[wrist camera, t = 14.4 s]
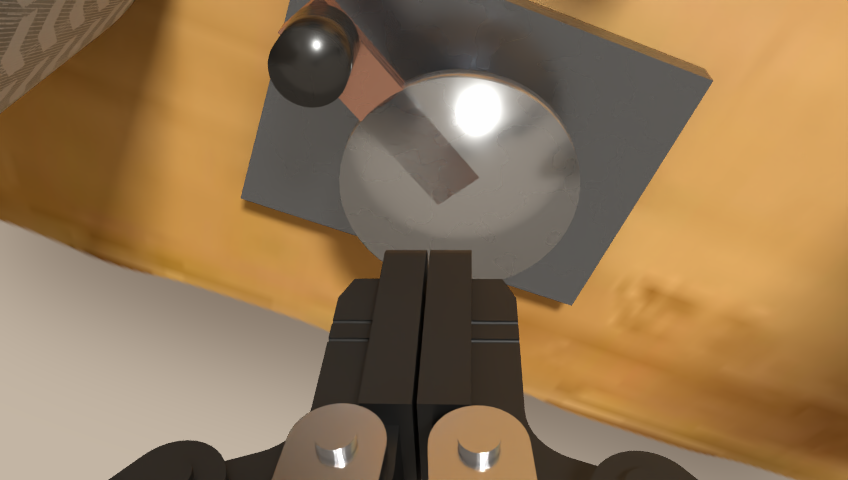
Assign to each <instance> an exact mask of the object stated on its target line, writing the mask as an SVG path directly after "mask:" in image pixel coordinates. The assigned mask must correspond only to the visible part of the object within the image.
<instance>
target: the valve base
mask: <svg viewBox="0 0 848 480" xmlns="http://www.w3.org/2000/svg"><path fill="white" fill-rule="evenodd" d="M309 1H310V0H290V2H289V6H288V10H287V14H286V18H285V22H286V21H288V20H289V19H290V18H291V17H292V16H293V15H294V14H295V13H296V12H297V11H299V10H300V9H301V8H302V7H303V6H304V5H306V4H307V3H308V2H309ZM335 1H336V2H337V3H338V4H339V5H340V6H341V8H342V9H343V10H344V11H345V12H346V13H347V15H348V16H349V17H350V18H351V19H352V20H353V21H354V23H355V24H356V25H357V26H358V27H359V28H360V30H361V31H362V32H363V33H364V34H365V35H366V36H367V38H368V39H369V40H370V41H371V42H372V43H373V45H374V46H375V47H376V48H377V49H378V50H379V52H380V53H381V54H382V55H383V56H384V57H385V58H386V60H387V61H388V62H389V63H390V64H391V65H392V67H393V68H394V69H395V70H396V71H397V72H398V74H399V75H400V76H401V77H402V78H403V79H404V80H407V79H409V78H412V77H415V76H418V75H421V74H424V73H429V72H434V71H438V70H447V69H474V70H480V71H486V72H491V73H495V74H498V75H501V76H504V77H507V78H510V79H512V80H514V81H516V82H518V83H520V84H522V85H524V86H526V87H527V88H529V89H530V90H532V91H533V92H535V93H536V94H538V95H539V96H540V97H541V98H542V99H543V100H545V101H546V102H547V103H548V104H549V105H550V106H551V107H552V109H553V110H554V111H555V112H556V113H557V114H558V116H559V117H560V119H561V120H562V122H563V123H564V125H565V126H566V128H567V130H568V132H569V135H570V137H571V139H572V142H573V145H574V149H575V152H576V156H577V160H578V164H579V172H580V194H579V200H578V205H577V208H576V211H575V214H574V217H573V219H572V221H571V223H570V225H569V227H568V229H567V231H566V232H565V234H564V235H563V237H562V238H561V240H560V241H559V242H558V243H557V244H556V245H555V247H554V248H553V249H552V250H551V251H550V252H549V253H548V254H547V255H545V256H544V257H543V258H542V259H541V260H539V261H538V262H537V263H535V264H534V265H532V266H531V267H529V268H527V269H525V270H524V271H522V272H520V273H518V274H516V275H513V276H511V277H508V278H505V279H503V281H504V282H505V283H506V285H510V286H513V287H516V288H519V289H522V290H525V291H528V292H531V293H534V294H537V295H540V296H544V297H547V298H550V299H553V300H556V301H559V302H562V303H565V304H568V305H571V306H572V304H573V303H574V301H575V300H576V298H577V296H578V295H579V293H580V292H581V290H582V288H583V287H584V285H585V284H586V282H587V280H588V279H589V277H590V276H591V274H592V273H593V271H594V269H595V268H596V266H597V265H598V263H599V261H600V260H601V258H602V257H603V255H604V253H605V252H606V250H607V249H608V247H609V246H610V244H611V242H612V241H613V239H614V238H615V236H616V234H617V233H618V231H619V230H620V228H621V226H622V225H623V223H624V222H625V220H626V219H627V217H628V215H629V214H630V212H631V211H632V209H633V207H634V206H635V204H636V203H637V201H638V199H639V198H640V196H641V195H642V193H643V192H644V190H645V188H646V187H647V185H648V184H649V182H650V180H651V179H652V177H653V176H654V174H655V172H656V171H657V169H658V168H659V166H660V164H661V163H662V161H663V160H664V158H665V157H666V155H667V153H668V152H669V150H670V149H671V147H672V145H673V144H674V142H675V141H676V139H677V137H678V136H679V134H680V133H681V131H682V130H683V128H684V126H685V125H686V123H687V122H688V120H689V118H690V117H691V115H692V114H693V112H694V110H695V109H696V107H697V106H698V104H699V103H700V101H701V99H702V98H703V96H704V95H705V93H706V91H707V90H708V88H709V87H710V85H711V83H712V82H713V80H712V78H711V77H710V76H709V74H708V73H707V71H706V70H705V69H703V68H701V67H698V66H696V65H693V64H691V63H688V62H685V61H683V60H680V59H678V58H675V57H673V56H670V55H667V54H665V53H662V52H660V51H657V50H655V49H652V48H649V47H647V46H644V45H642V44H639V43H637V42H634V41H631V40H629V39H626V38H624V37H621V36H619V35H616V34H613V33H611V32H608V31H606V30H603V29H601V28H598V27H595V26H593V25H590V24H588V23H585V22H583V21H580V20H577V19H575V18H572V17H570V16H567V15H565V14H562V13H559V12H557V11H554V10H552V9H549V8H547V7H544V6H541V5H539V4H536V3H534V2H531V1H529V0H335ZM285 22H284V23H285ZM358 120H359V119H358V118H357V117H356V116H355V115H354V114H353V113H352V112H351V111H350V110H349V108H348V107H347V106H346V105H345V104H344V103H343V102H342V101H341V100H340V99H339V98H337V99H336V100H335V101H333V102H332V103H330V104H328V105H325V106H322V107H315V108H310V107H303V106H299V105H297V104H294V103H292V102H290V101H289V100H287V99H286V98H285V97H283V96H282V95H281V94H280V93H279V92H278V90H277V89H276V88H275V86H274V85H273V83H272V81H271V78H270V82H269V87H268V91H267V95H266V99H265V103H264V107H263V111H262V115H261V119H260V123H259V127H258V131H257V135H256V139H255V143H254V147H253V151H252V155H251V159H250V163H249V167H248V171H247V175H246V179H245V183H244V187H243V191H242V195H241V199H244V200H247V201H250V202H253V203H257V204H260V205H263V206H266V207H269V208H272V209H275V210H278V211H281V212H284V213H287V214H290V215H294V216H297V217H300V218H303V219H306V220H309V221H312V222H315V223H318V224H321V225H324V226H328V227H331V228H334V229H337V230H340V231H343V232H346V233H349V234H352V235H355V236H357V235H356V233H355V232H354V231H353V229H352V227H351V225H350V223H349V221H348V219H347V217H346V214H345V211H344V208H343V206H342V201H341V196H340V185H339V176H340V167H341V162H342V158H343V154H344V151H345V148H346V144H347V141H348V139H349V137H350V134H351V132H352V130H353V128H354V126H355V124H356V123H357V121H358Z"/></svg>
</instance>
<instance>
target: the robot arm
mask: <svg viewBox="0 0 848 480" xmlns="http://www.w3.org/2000/svg"><path fill="white" fill-rule="evenodd" d="M421 479H422V480H697V479H696V478H695V477H694V476H692V475H691V474H690V473H689V472H687V471H686V470H685V469H684V468H682V467H681V466H680V465H678V464H677V463H675V462H673V461H671V460H670V459H668V458H666V457H663V456H660V455H658V454H654V453H650V452H644V451H627V452H621V453H618V454H615V455H612V456H610V457H609V458H607V459H605V460H604V461H603V462H602V463H600V464H599V466H596V465H592V464H589V463H585V462H582V461H579V460H576V459H572V458H569V457H566V456H564V455H561V454H560V453H558V452H556V451H554V450H552V449H551V448H549V447H547V446H546V445H545V444H544V443H543V442H541V441H540V440H539V439H538V438H537V437H536V435H535V434H534V433H533V432H532V430H531V428H530V427H529V425H528V422H527V420H526V416H525V410H524V397H523V383H522V369H521V356H520V344H519V329H518V316H517V303H516V297H515V296H514V295H513V293H512V292H511V290H510V289H509V288H508V286H507V285H506V283H505V282H504V281H503V279H472V250H430V256H429V264H428V252H427V250H386V251H385V253H384V258H383V264H382V270H381V275H380V279H354V280H353V282H352V283H351V284H350V285H349V286H348V287H347V288H346V290H345V291H344V292H343V293H342V294H341V295H340V296H339V298H338V301H337V306H336V310H335V314H334V318H333V324H332V326H331V330H330V334H329V342H327V347H326V351H325V355H324V359H323V363H322V367H321V371H320V375H319V379H318V383H317V387H316V392H315V396H314V400H313V404H312V408H311V411H310V412H309V413H307V414H306V415H305V416H303V417H302V418H301V419H300V420H299V421H298V422H297V423H296V424H295V425H294V426H293V428H292V429H291V431H290V432H289V434H288V436H287V439H286V441H284V442H282V443H281V444H279V445H277V446H275V447H273V448H270V449H268V450H265V451H262V452H258V453H254V454H250V455H247V456H243V457H239V458H235V459H231V460H227V461H224V459H223V458H222V456H221V454H220V453H219V452H218V451H217V450H216V449H215V448H213V447H212V446H210V445H208V444H206V443H203V442H198V441H189V440H186V441H177V442H172V443H168V444H165V445H162V446H159V447H157V448H155V449H153V450H151V451H150V452H148V453H146V454H145V455H143V456H142V457H141V458H139V459H137V460H136V461H135V462H133V463H132V464H130V465H129V466H127V467H126V468H125V469H123V470H122V471H120V472H119V473H117V474H116V475H115V476H113V477H112V478H110V479H109V480H421Z"/></svg>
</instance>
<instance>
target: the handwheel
mask: <svg viewBox="0 0 848 480" xmlns="http://www.w3.org/2000/svg"><path fill="white" fill-rule="evenodd" d="M278 33H279V34H280V37H279V38H278V40H277V41H276V43H275V44H274V46H273V47H272V49H271V51H270V54H269V59H268V71H269V75H270V78H271V81H272V83H273V85H274V86H275V88H276V89H277V90H278V92H279V93H280V94H281V95H282V96H283V97H285V98H286V99H287V100H289V101H290V102H292V103H294V104H297V105H299V106H303V107H310V108H315V107H322V106H325V105H328V104H330V103H332V102H333V101H335V100H336V99H337V98H339V99H340V100H341V101H342V102H343V103H344V104H345V105H346V106H347V107H348V108H349V110H350V111H351V112H352V113H353V114H354V115H355V116H356V117H357V118H358V119H359V120H358V121H357V123H356V124H355V126H354V128H353V130H352V132H351V134H350V137H349V139H348V141H347V144H346V148H345V151H344V154H343V158H342V162H341V167H340V176H339V185H340V196H341V201H342V206H343V208H344V211H345V214H346V217H347V219H348V221H349V223H350V225H351V227H352V229H353V231H354V232H355V233H356V235H357V236H358V238H359V239H360V241H361V242H362V243H363V244H364V245H365V246H366V247H367V248H368V249H369V251H371V252H372V253H373V254H374V255H375V256H376V257H377V258H379V259H380V260H381V261H383V258H384V253H385V251H386V250H427V252H428V264H429V256H430V250H472V279H505V278H508V277H511V276H513V275H516V274H518V273H520V272H522V271H524V270H525V269H527V268H529V267H531V266H532V265H534V264H535V263H537V262H538V261H539V260H541V259H542V258H543V257H544V256H545V255H547V254H548V253H549V252H550V251H551V250H552V249H553V248H554V247H555V245H556V244H557V243H558V242H559V241H560V240H561V238H562V237H563V235H564V234H565V232H566V231H567V229H568V227H569V225H570V223H571V221H572V219H573V217H574V214H575V211H576V208H577V205H578V200H579V194H580V172H579V164H578V160H577V156H576V152H575V149H574V145H573V142H572V139H571V137H570V135H569V132H568V130H567V128H566V126H565V125H564V123H563V122H562V120H561V119H560V117H559V116H558V114H557V113H556V112H555V111H554V110H553V109H552V107H551V106H550V105H549V104H548V103H547V102H546V101H545V100H543V99H542V98H541V97H540V96H539V95H538V94H536V93H535V92H533V91H532V90H530V89H529V88H527V87H526V86H524V85H522V84H520V83H518V82H516V81H514V80H512V79H510V78H507V77H504V76H501V75H498V74H495V73H491V72H486V71H480V70H474V69H447V70H438V71H434V72H429V73H424V74H421V75H418V76H415V77H412V78H409V79H407V80H404V79H403V78H402V77H401V76H400V75H399V74H398V72H397V71H396V70H395V69H394V68H393V67H392V65H391V64H390V63H389V62H388V61H387V60H386V58H385V57H384V56H383V55H382V54H381V53H380V52H379V50H378V49H377V48H376V47H375V46H374V45H373V43H372V42H371V41H370V40H369V39H368V38H367V36H366V35H365V34H364V33H363V32H362V31H361V30H360V28H359V27H358V26H357V25H356V24H355V23H354V21H353V20H352V19H351V18H350V17H349V16H348V15H347V13H346V12H345V11H344V10H343V9H342V8H341V6H340V5H339V4H338V3H337V2H336V1H335V0H310V1H309V2H308V3H307V4H306V5H304V6H303V7H302V8H301V9H300V10H299V11H297V12H296V13H295V14H294V15H293V16H292V17H291V18H290V19H289V20H288V21H286V22H285V23H284V24H283V25H282V27H281V28H280V30H279V31H278Z"/></svg>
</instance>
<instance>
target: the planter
mask: <svg viewBox="0 0 848 480" xmlns="http://www.w3.org/2000/svg"><path fill="white" fill-rule="evenodd" d="M133 2H134V0H0V113H1V112H3V111H4V110H5V109H6V108H8V107H9V106H10V105H12V104H13V103H14V102H15V101H17V100H18V99H19V98H20V97H22V96H23V95H24V94H25V93H27V92H28V91H29V90H31V89H32V88H33V87H34V86H36V85H37V84H38V83H39V82H41V81H42V80H43V79H45V78H46V77H47V76H48V75H50V74H51V73H52V72H53V71H55V70H56V69H57V68H58V67H60V66H61V65H62V64H64V63H65V62H66V61H67V60H69V59H70V58H71V57H72V56H74V55H75V54H76V53H78V52H79V51H80V50H81V49H83V48H84V47H85V46H86V45H88V44H89V43H90V42H92V41H93V40H94V39H95V38H97V37H98V36H99V35H100V34H102V33H103V32H104V31H105V30H107V29H108V28H109V27H110V26H111V25H112V24H114V23H115V22H116V21H117V20H118V19H119V18H120V17H121V16H122V15H123V14H124V13H125V12H126V11H127V9H128V8H129V7H130V6H131V5H132V3H133Z"/></svg>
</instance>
